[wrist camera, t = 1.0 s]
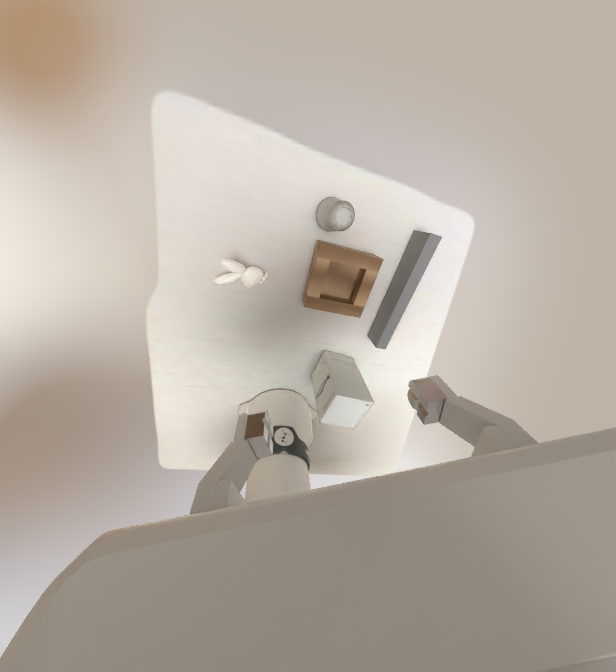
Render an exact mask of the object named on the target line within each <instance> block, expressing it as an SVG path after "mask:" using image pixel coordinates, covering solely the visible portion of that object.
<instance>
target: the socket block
mask: <svg viewBox="0 0 616 672" xmlns="http://www.w3.org/2000/svg"><path fill="white" fill-rule="evenodd" d="M383 260H384V259H382V258H380V257H378V256H376V255H373V254H369V253H365V252H361V251H358V250H354V249H350V248H346V247H342V246H339V245H335V244H331V243H327V242H324V241H320V240H317V244H316V248H315V252H314V256H313V260H312V264H311V268H310V272H309V276H308V280H307V284H306V288H305V292H304V296H303V303H304V307H307V308H312V309H317V310H323V311H328V312H333V313H338V314H343V315H349V316H354V317H359V318H360V317H361V314H362V312H363V309H364V307H365V304H366V302H367V299H368V297H369V294H370V292H371V289H372V287H373V284H374V282H375V279H376V277H377V274H378V272H379V269H380V267H381V264H382V262H383Z"/></svg>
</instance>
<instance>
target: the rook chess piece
mask: <svg viewBox="0 0 616 672" xmlns="http://www.w3.org/2000/svg"><path fill="white" fill-rule="evenodd" d="M354 216H355V212H354V209H353V207H352V205H351V204H350V203H349V202H346V201H341V200H340V199H337V198H335V197H328V198H326V199H324V200H322V202H321V203H320V204H319V205H318V208H317V211H316V220H317V222H318V225H319V226H320V227H321V228H322V229H323V230H326V231H336V230H337V231H344V230H346V229H348V228H349V227H350V226H351V225H352V223H353V221H354Z"/></svg>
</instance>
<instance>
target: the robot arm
mask: <svg viewBox="0 0 616 672" xmlns="http://www.w3.org/2000/svg"><path fill="white" fill-rule="evenodd" d="M409 387H410V390H409V391H408V399H409V402H410V404H411V406H412V407H413V408H414V409H416V410H418V411H417V415H418V416H419V418H420V420H421V421H422V423H423V424H430V423H436V422H440V424H442V425H443V426H445V427H446V428H448V429H449V430H451V431H452V432H454V433H455V434H457V435H458V436H460V437H461V438H462V439H464V440H465V441H467V442H468V443H470V444H471V445H473V446H474V447H475V448H474V451H473V453H472V456H471V457H469V458H464V459H460V460H455V461H450V462H445V463H440V464H435V465H430V466H425V467H420V468H416V469H411V470H406V471H401V472H396V473H391V474H386V475H381V476H376V477H371V478H366V479H362V480H357V481H352V482H347V483H342V484H337V485H333V486H327V487H322V488H318V489H313V490H310V483H309V476H308V471H309V467H310V466H309V462H310V458H309V453H308V448H309V447H310V445H311V443H313V432H312V422H313V421H314V419H315V418H316V411H315V410H313V409H312V408H310V407H309V406H308V404H307V402H306V400H305V399H304V398H303V397H302V396H301V395H299V394H297V393H295V392H293V391H289V390H280V389H279V390H270V391H267V392H264V393H262V394H260V395H258V396H256V397H255V398H254V399H253V400H251V401H250V402H247V403H244V404H241V405H240V406H239V407H238V414H239V418H238V423H237V428H236V433H235V438H234V442H231V443H230V445H229V446H228V447H227V448H226V450H225V451H224V452H223V453H222V455H221V456H220V457H219V459H218V460H217V461H216V462H215V464H214V465H213V466H212V467H211V469H210V470H209V471H208V473H207V474H206V475H205V476H204V478H203V479H202V480H201V481H200V483H199V484H198V487H197V491H196V495H195V498H194V501H193V505H192V508H191V511H190V515H185V516H181V517H176V518H171V519H166V520H161V521H156V522H151V523H146V524H141V525H137V526H131V527H126V528H121V529H116V530H112V531H109V532H106V533H104V534H102V535H101V536H100V537H98V538H97V539H96V540H95V541H94V542H93V543H92V544H90V545H89V546H88V547H87V548H86V549H85V550H84V551H83V552H82V553H81V554H80V555H79V556H78V557H77V558H76V559H75V560H74V561H73V562H72V563H71V564H70V565H69V566H68V567H67V568H66V569H65V570H64V571H63V572H62V573H60V575H58V577H57V578H56V579H55V580H54V581H53V582H52V583H51V584H50V585H49V587H48V588H47V589H46V590H45V592H44V593H43V594H42V596H41V597H40V599H39V600H38V601H37V603H36V604H35V606H34V607H33V608H32V610H31V611H30V613H29V614H28V616H27V617H26V619H25V620H24V622H23V623H22V625H21V626H20V628H19V629H18V631H17V633H16V634H15V636H14V637H13V639H12V640H11V642H10V644H9V645H8V647H7V648H6V650H5V651H4V653H3V655H2V656H1V658H0V672H616V428H611V429H606V430H602V431H597V432H591V433H587V434H582V435H577V436H572V437H567V438H562V439H557V440H552V441H548V442H543V443H538V442H537V441H535V440H534V439H533V438H532V437H531V436H530V435H529V434H528V433H527V432H526V431H525V430H523V428H522V427H520V426H519V425H518V424H517V423H516V422H515V421H514V420H512V419H510V418H508V417H505V416H503V415H501V414H499V413H497V412H494V411H492V410H490V409H488V408H485V407H483V406H481V405H479V404H477V403H474V402H472V401H470V400H468V399H466V398H463V397H461V396H459V397H458V396H457V395H456V394H455V393H454V392H453V391H452V390H451V389H450V388H449V387H448V385H447V384H446V383H444V381H443V380H442V379H441V378H440V377H439V376H437V375H436V376H431V377H426V378H421V379H416V380H412V381H410V382H409ZM246 480H247V486H246V494H245V499H244V498H243V497H242V495H241V494H240V491H241V489H242V487H243V486H244V483H245V482H246Z"/></svg>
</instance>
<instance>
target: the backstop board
mask: <svg viewBox="0 0 616 672" xmlns="http://www.w3.org/2000/svg"><path fill="white" fill-rule="evenodd" d="M441 238H442V237H441V236H438V235H435V234H431V233H426V232H420V231H414V232H413V234H412V236H411V238H410V241H409V243H408V245H407V247H406V250H405V252H404V254H403V257H402V259H401V261H400V263H399V266H398V268H397V270H396V272H395V275H394V277H393V279H392V281H391V284H390V286H389V288H388V290H387V293H386V295H385V297H384V300H383V302H382V304H381V306H380V309H379V311H378V313H377V315H376V318H375V320H374V322H373V324H372V327H371V329H370V331H369V334H368V337H369V338H370V340H371V341H372V343H373V344H374V346H375V347H376V348H381V349H386V347H387V345H388V343H389V341H390V339H391V337H392V335H393V333H394V331H395V329H396V327H397V325H398V323H399V321H400V319H401V317H402V315H403V313H404V311H405V309H406V307H407V305H408V303H409V301H410V300H411V298H412V296H413V294H414V292H415V290H416V288H417V286H418V284H419V282H420V280H421V278H422V276H423V274H424V272H425V270H426V268H427V266H428V264H429V262H430V260H431V258H432V256H433V254H434V252H435V250H436V248H437V246H438V244H439V242H440V240H441Z"/></svg>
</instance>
